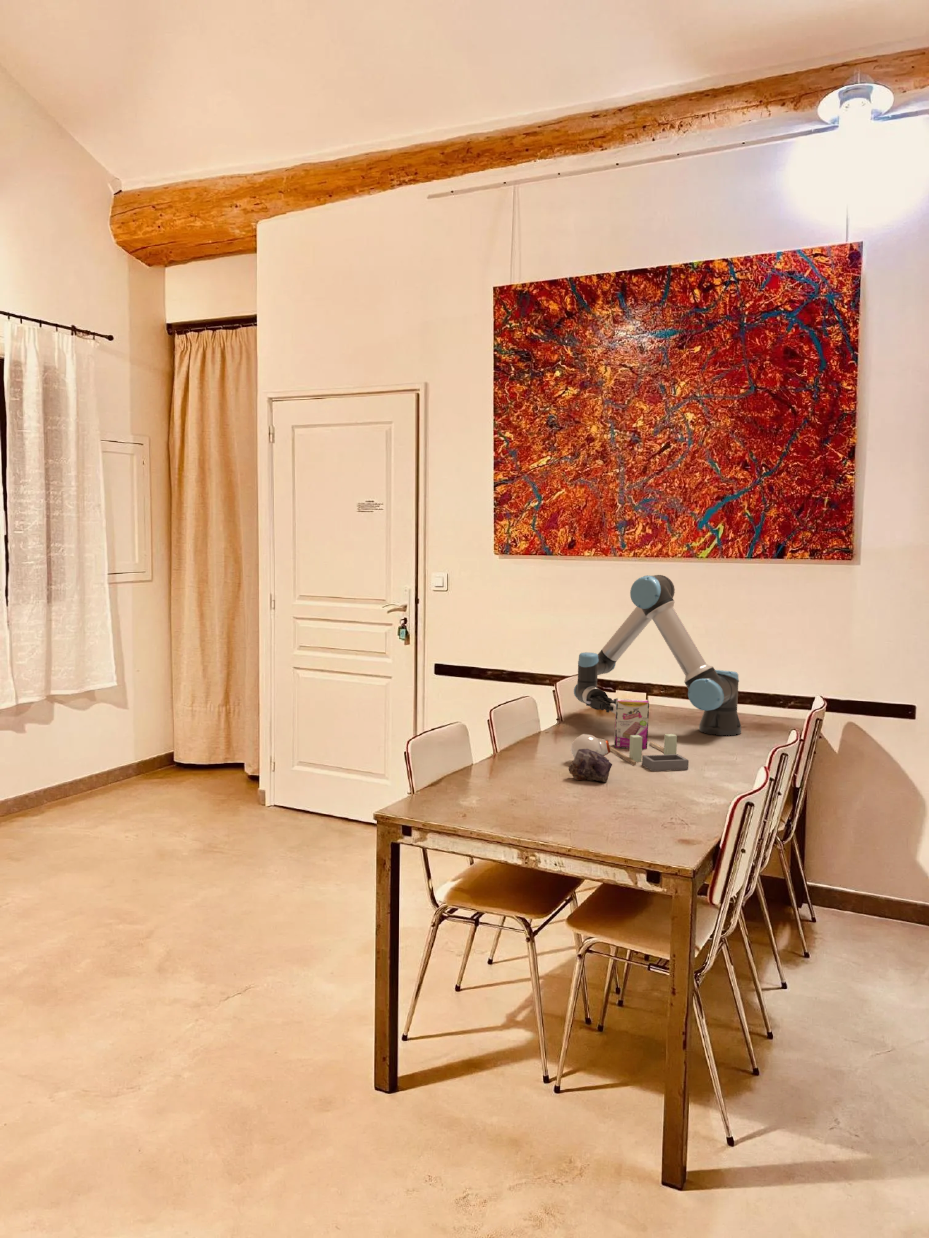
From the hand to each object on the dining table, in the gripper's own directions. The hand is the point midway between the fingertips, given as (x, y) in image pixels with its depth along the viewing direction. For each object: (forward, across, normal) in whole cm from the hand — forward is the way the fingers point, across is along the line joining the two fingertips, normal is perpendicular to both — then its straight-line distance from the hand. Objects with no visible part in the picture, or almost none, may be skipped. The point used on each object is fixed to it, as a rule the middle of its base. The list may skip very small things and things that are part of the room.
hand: (618, 710), depth 340 cm
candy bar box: (+11, -1, -11) cm, 15 cm away
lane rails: (+22, -1, -10) cm, 24 cm away
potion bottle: (+28, +20, -11) cm, 36 cm away
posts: (+30, -1, -10) cm, 31 cm away
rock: (+49, +28, -11) cm, 57 cm away
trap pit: (+39, -1, -10) cm, 40 cm away
